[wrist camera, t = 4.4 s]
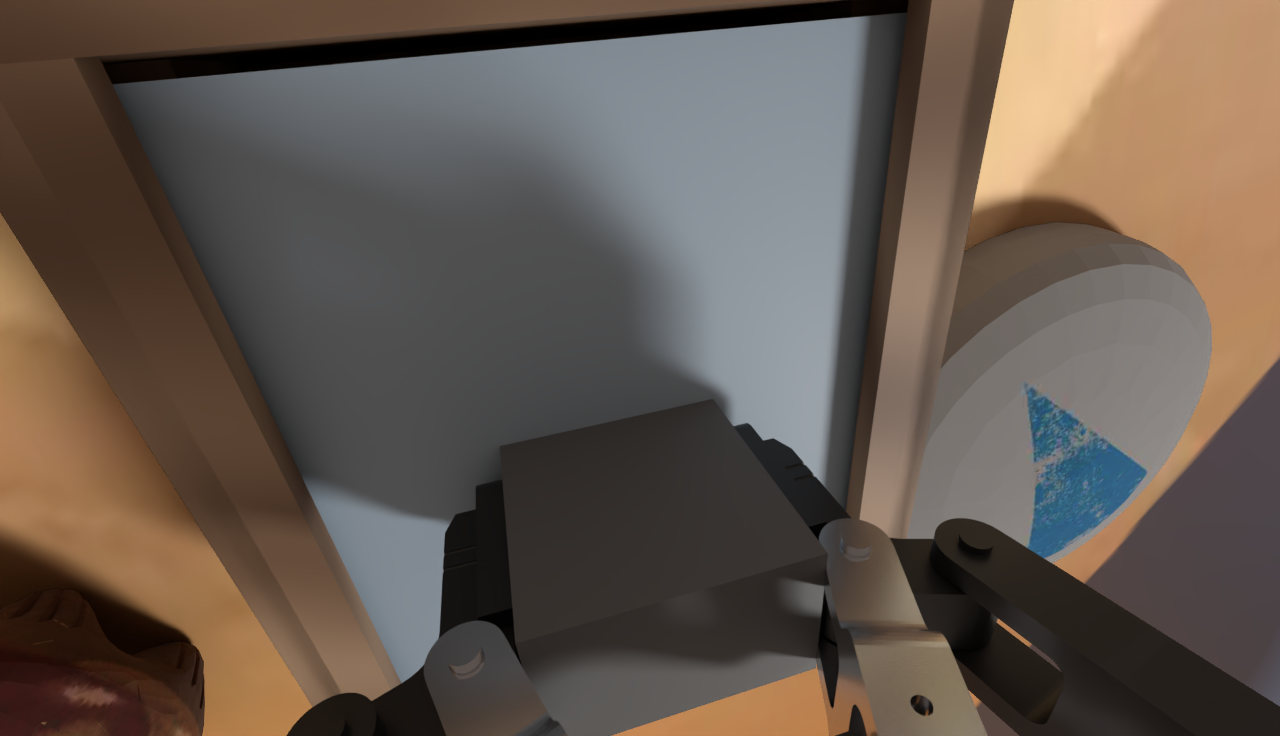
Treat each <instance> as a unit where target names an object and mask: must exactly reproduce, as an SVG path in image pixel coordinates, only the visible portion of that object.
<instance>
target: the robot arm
mask: <svg viewBox="0 0 1280 736" xmlns="http://www.w3.org/2000/svg"><path fill="white" fill-rule="evenodd" d="M733 427H734V428H735V429H736V431H737V432H738V433H739V435H740V436H741V437H742V439H743V440H744V441H745V443H746V444H747V445H748V447H749V448H750V449H751V451H752V452H753V453H754V455H755V456H756V457H757V459H758V460H759V462H760V463H761V464H762V466H763V467H764V468H765V470H766V471H767V472H768V474H769V475H770V476H771V478H772V479H773V480H774V482H775V483H776V484H777V486H778V487H779V488H780V490H781V491H782V492H783V494H784V495H785V496H786V498H787V499H788V500H789V502H790V503H791V504H792V506H793V507H794V508H795V510H796V511H797V512H798V514H799V515H800V516H801V518H802V519H803V521H804V522H805V523H806V525H807V526H808V527H809V529H810V530H811V531H812V533H813V534H814V535H815V537H816V538H817V539H818V541H819V542H820V543H821V545H822V546H823V547H824V549H825V550H826V551H827V553H828V558H827V567H825V576H824V595H823V605H822V614H821V623H820V632H819V642H818V643H817V652H816V662H817V668H818V673H819V678H820V683H821V688H822V693H823V698H824V704H825V709H826V714H827V720H828V729H829V736H987V733H986V731H985V729H984V726H983V724H982V721H981V719H980V717H979V714H978V712H977V710H976V707H975V705H974V703H973V700H972V698H971V695H970V693H969V691H970V692H971V693H973V694H974V695H975V696H976V697H977V698H978V699H979V700H980V701H982V702H983V703H984V704H985V705H986V706H987V707H988V708H989V709H990V710H992V711H993V712H994V713H995V714H996V715H997V716H998V717H1000V718H1001V719H1002V720H1003V721H1004V722H1005V723H1006V724H1007V725H1008V726H1009V727H1011V728H1012V729H1013V730H1014V731H1015V732H1016V733H1017V734H1018V735H1020V736H1280V706H1278V705H1276V704H1275V703H1273V702H1272V701H1270V700H1268V699H1267V698H1265V697H1264V696H1262V695H1260V694H1259V693H1257V692H1256V691H1254V690H1252V689H1251V688H1249V687H1248V686H1246V685H1245V684H1243V683H1241V682H1240V681H1238V680H1237V679H1235V678H1233V677H1232V676H1230V675H1229V674H1227V673H1225V672H1224V671H1222V670H1221V669H1219V668H1218V667H1216V666H1214V665H1213V664H1211V663H1209V662H1208V661H1206V660H1205V659H1203V658H1202V657H1200V656H1198V655H1197V654H1195V653H1194V652H1192V651H1190V650H1189V649H1187V648H1186V647H1184V646H1183V645H1181V644H1179V643H1178V642H1176V641H1175V640H1173V639H1171V638H1170V637H1168V636H1167V635H1165V634H1163V633H1162V632H1160V631H1158V630H1157V629H1156V628H1154V627H1152V626H1151V625H1149V624H1147V623H1146V622H1144V621H1143V620H1141V619H1140V618H1138V617H1136V616H1135V615H1133V614H1132V613H1130V612H1128V611H1127V610H1125V609H1124V608H1122V607H1121V606H1119V605H1117V604H1116V603H1114V602H1113V601H1111V600H1109V599H1108V598H1106V597H1105V596H1103V595H1101V594H1100V593H1098V592H1097V591H1095V590H1093V589H1092V588H1090V587H1089V586H1087V585H1086V584H1084V583H1082V582H1081V581H1079V580H1078V579H1076V578H1074V577H1073V576H1071V575H1070V574H1068V573H1066V572H1065V571H1063V570H1062V569H1060V568H1058V567H1057V566H1055V565H1054V564H1052V563H1051V562H1049V561H1047V560H1046V559H1044V558H1043V557H1041V556H1039V555H1038V554H1036V553H1035V552H1033V551H1031V550H1030V549H1028V548H1027V547H1025V546H1023V545H1022V544H1020V543H1019V542H1017V541H1016V540H1014V539H1012V538H1011V537H1009V536H1008V535H1006V534H1004V533H1003V532H1001V531H1000V530H998V529H996V528H995V527H993V526H991V525H988V524H986V523H984V522H981V521H977V520H973V519H967V518H955V519H949V520H946V521H944V522H942V523H941V524H940V525H939V526H938V527H937V528H936V531H935V534H934V539H898V538H889V537H888V535H887V534H886V533H885V532H884V531H883V530H881V529H880V528H878V527H877V526H875V525H873V524H871V523H869V522H866V521H863V520H859V519H852V518H851V517H850V516H849V515H848V513H847V512H846V511H845V510H844V509H843V508H842V506H841V505H840V504H839V503H838V502H837V501H836V499H835V498H834V497H833V496H832V495H831V494H830V492H829V491H828V490H827V489H826V488H825V487H824V485H823V484H822V483H821V482H820V481H819V480H818V479H817V477H814V475H813V473H812V472H811V470H810V469H809V468H808V467H807V466H806V465H804V462H803V461H802V460H801V459H800V458H799V456H798V455H797V454H796V453H795V452H794V451H793V449H792V448H790V447H788V446H786V445H785V444H783V443H781V442H779V441H778V440H776V439H774V438H772V439H768V440H762V438H761V437H760V436H759V435H758V433H757V432H756V431H755V430H754V428H753V427H752V426H751V425H750V424H749V423H744V424H740V425H736V426H733ZM443 571H444V572H443V578H442V597H441V615H440V632H439V638H438V640H437V641H436V642H435V644H434V645H433V646H432V648H431V649H430V651H429V653H428V655H427V657H426V660H425V664H424V665H423V666H422V667H421V668H420V669H419V670H418V671H417V672H416V673H415V674H414V675H413V676H411V677H410V678H409V679H407V680H406V681H404V682H403V683H401V684H399V685H398V686H396V687H394V688H393V689H391V690H389V691H388V692H386V693H384V694H383V695H381V696H379V697H378V698H376V699H374V700H373V701H371V700H370V699H369V698H367V697H366V696H364V695H362V694H359V693H342V694H338V695H335V696H332V697H330V698H327V699H325V700H323V701H322V702H320V703H318V704H317V705H315V706H314V707H312V708H311V709H310V710H308V711H307V712H306V713H305V714H304V715H303V716H302V717H301V718H300V719H299V720H298V721H297V722H296V723H295V724H294V726H293V727H292V729H291V730H290V731H289V733H288V734H287V736H568V735H567V734H566V732H565V730H564V729H563V727H562V726H561V725H560V723H559V722H558V721H557V720H555V721H553V719H552V718H551V717H550V715H549V713H548V712H547V710H546V708H545V706H544V705H543V703H542V701H541V699H540V698H539V696H538V694H537V692H536V691H535V689H534V687H533V685H532V683H531V682H530V680H529V678H528V676H527V675H526V673H525V671H524V669H523V667H522V664H521V661H520V657H519V654H518V651H517V647H516V644H515V633H514V620H513V608H512V595H511V582H510V570H509V557H508V544H507V532H506V519H505V507H504V494H503V481H502V480H498V481H493V482H489V483H485V484H481V485H477V486H476V509H475V510H471V511H467V512H462V513H458V514H455V516H454V518H453V520H452V521H451V523H450V525H449V527H448V529H447V530H446V532H445V541H444V559H443ZM998 618H999V619H1000V620H1001V621H1003V622H1004V623H1005V624H1007V625H1008V626H1009V627H1011V628H1012V629H1013V630H1014V631H1016V632H1017V633H1018V634H1020V635H1021V636H1022V637H1024V638H1025V639H1026V640H1028V641H1029V642H1030V643H1032V644H1033V645H1034V646H1036V647H1037V648H1038V649H1040V650H1041V651H1042V652H1044V653H1045V654H1046V655H1047V656H1049V657H1050V658H1051V659H1052V660H1053V661H1054V662H1055V663H1056V664H1057V666H1058V667H1059V668H1060V670H1061V672H1060V671H1059V670H1058V669H1056V668H1055V667H1054V666H1053V665H1051V664H1050V663H1049V662H1047V661H1046V660H1045V659H1043V658H1042V657H1041V656H1039V655H1038V654H1037V653H1036V652H1034V651H1033V650H1032V649H1030V648H1029V647H1028V646H1026V645H1025V644H1024V643H1022V642H1021V641H1020V640H1019V639H1017V638H1016V637H1015V636H1013V635H1012V634H1011V633H1009V632H1008V631H1007V630H1005V629H1004V628H1003V627H1002V626H1000V625H999V624H998V623H996V622H997V619H998ZM968 690H969V691H968Z"/></svg>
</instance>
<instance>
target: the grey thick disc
mask: <svg viewBox="0 0 1280 736" xmlns="http://www.w3.org/2000/svg"><path fill="white" fill-rule="evenodd" d="M1211 352H1212V335H1211V323H1210V319H1209V316H1208V312H1207V309H1206V305H1205V303H1204V301H1203V299H1202V298H1201V296H1200V294H1199V292H1198V291H1197V289H1196V287H1195V286H1194V284H1193V283H1192V281H1191V280H1190V278H1189V277H1188V275H1187V274H1186V272H1185V271H1184V269H1183V268H1182V267H1181V266H1180V265H1179V264H1177V263H1176V262H1174V261H1173V260H1172V259H1170V258H1169V257H1168V256H1166V255H1165V254H1164V253H1162V252H1160V251H1159V250H1157V249H1155V248H1153V247H1152V246H1150V245H1148V244H1146V243H1144V242H1142V241H1139V240H1136V239H1133V238H1131V237H1128V236H1125V235H1122V234H1119V233H1116V232H1113V231H1110V230H1107V229H1104V228H1100V227H1096V226H1092V225H1088V224H1080V223H1062V222H1053V223H1046V224H1040V225H1034V226H1028V227H1022V228H1019V229H1016V230H1013V231H1010V232H1007V233H1005V234H1002V235H999V236H996V237H993V238H990V239H988V240H985V241H984V242H982V243H980V244H978V245H976V246H974V247H972V248H970V249H969V250H967V251H965V252H964V254H963V259H962V264H961V269H960V274H959V279H958V284H957V289H956V294H955V299H954V304H953V309H952V314H951V319H950V324H949V329H948V334H947V339H946V344H945V349H944V355H943V360H942V365H941V370H940V375H939V380H938V385H937V390H936V395H935V400H934V405H933V410H932V415H931V420H930V425H929V430H928V435H927V440H926V445H925V450H924V455H923V460H922V465H921V470H920V475H919V480H918V485H917V490H916V495H915V500H914V505H913V510H912V515H911V520H910V525H909V530H908V535H907V539H934V534H935V531H936V528H937V527H938V526H939V525H940V524H941V523H942V522H944V521H946V520H949V519H955V518H967V519H973V520H977V521H981V522H984V523H986V524H988V525H991V526H993V527H995V528H996V529H998V530H1000V531H1001V532H1003V533H1004V534H1006V535H1008V536H1009V537H1011V538H1012V539H1014V540H1016V541H1017V542H1019V543H1020V544H1022V545H1023V546H1025V547H1027V548H1028V549H1030V550H1031V551H1033V552H1035V553H1036V554H1038V555H1039V556H1041V557H1043V558H1044V559H1046V560H1047V561H1049V562H1051V563H1053V562H1055V561H1057V560H1059V559H1061V558H1062V557H1064V556H1066V555H1068V554H1069V553H1071V552H1072V551H1074V550H1075V549H1077V548H1078V547H1080V546H1081V545H1083V544H1084V543H1086V542H1087V541H1089V540H1090V539H1091V538H1092V537H1094V536H1095V535H1096V534H1097V533H1099V532H1100V531H1101V530H1102V529H1104V528H1105V527H1106V526H1107V525H1109V524H1110V523H1111V522H1112V521H1113V520H1114V519H1115V518H1116V517H1118V516H1119V515H1120V514H1121V513H1122V512H1123V511H1124V510H1125V509H1126V508H1127V507H1128V506H1129V505H1130V504H1131V503H1132V502H1133V501H1134V500H1135V499H1136V498H1137V497H1138V496H1139V494H1140V493H1141V492H1142V491H1143V490H1144V489H1145V488H1146V487H1147V486H1148V484H1149V483H1150V482H1151V481H1152V479H1153V478H1154V477H1155V475H1156V474H1157V473H1158V472H1159V470H1160V469H1161V468H1162V466H1163V465H1164V464H1165V462H1166V461H1167V459H1168V458H1169V456H1170V455H1171V453H1172V451H1173V450H1174V448H1175V446H1176V445H1177V443H1178V442H1179V440H1180V438H1181V437H1182V435H1183V433H1184V431H1185V429H1186V427H1187V425H1188V423H1189V421H1190V418H1191V416H1192V414H1193V412H1194V410H1195V408H1196V406H1197V404H1198V402H1199V399H1200V396H1201V393H1202V390H1203V387H1204V384H1205V381H1206V378H1207V375H1208V369H1209V363H1210V357H1211Z"/></svg>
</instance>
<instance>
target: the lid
mask: <svg viewBox="0 0 1280 736" xmlns="http://www.w3.org/2000/svg"><path fill="white" fill-rule="evenodd" d="M906 19H907V13H896V14H885V15H874V16H863V17H852V18H841V19H830V20H819V21H808V22H797V23H786V24H775V25H764V26H752V27H741V28H730V29H719V30H708V31H697V32H686V33H675V34H664V35H653V36H642V37H631V38H620V39H609V40H598V41H587V42H576V43H565V44H554V45H543V46H532V47H521V48H510V49H499V50H488V51H477V52H465V53H454V54H443V55H432V56H421V57H410V58H399V59H388V60H377V61H366V62H355V63H344V64H333V65H322V66H311V67H300V68H289V69H278V70H267V71H256V72H245V73H234V74H223V75H212V76H201V77H189V78H178V79H167V80H156V81H145V82H134V83H123V84H112V85H113V87H114V89H115V91H116V93H117V95H118V97H119V100H120V102H121V104H122V106H123V108H124V110H125V112H126V114H127V116H128V118H129V120H130V122H131V124H132V126H133V128H134V131H135V133H136V135H137V137H138V139H139V141H140V143H141V145H142V147H143V149H144V151H145V153H146V155H147V157H148V160H149V162H150V164H151V166H152V168H153V170H154V172H155V174H156V176H157V178H158V180H159V182H160V184H161V186H162V189H163V191H164V193H165V195H166V197H167V199H168V201H169V203H170V205H171V207H172V209H173V211H174V213H175V215H176V217H177V220H178V222H179V224H180V226H181V228H182V230H183V232H184V234H185V236H186V238H187V240H188V242H189V244H190V246H191V249H192V251H193V253H194V255H195V257H196V259H197V261H198V263H199V265H200V267H201V269H202V271H203V273H204V275H205V278H206V280H207V282H208V284H209V286H210V288H211V290H212V292H213V294H214V296H215V298H216V300H217V302H218V304H219V306H220V309H221V311H222V313H223V315H224V317H225V319H226V321H227V323H228V325H229V327H230V329H231V331H232V333H233V335H234V338H235V340H236V342H237V344H238V346H239V348H240V350H241V352H242V354H243V356H244V358H245V360H246V362H247V364H248V366H249V369H250V371H251V373H252V375H253V377H254V379H255V381H256V383H257V385H258V387H259V389H260V391H261V393H262V395H263V398H264V400H265V402H266V404H267V406H268V408H269V410H270V412H271V414H272V416H273V418H274V420H275V422H276V424H277V427H278V429H279V431H280V433H281V435H282V437H283V439H284V441H285V443H286V445H287V447H288V449H289V451H290V453H291V455H292V458H293V460H294V462H295V464H296V466H297V468H298V470H299V472H300V474H301V476H302V478H303V480H304V482H305V484H306V487H307V489H308V491H309V493H310V495H311V497H312V499H313V501H314V503H315V505H316V507H317V509H318V511H319V513H320V516H321V518H322V520H323V522H324V524H325V526H326V528H327V530H328V532H329V534H330V536H331V538H332V540H333V542H334V544H335V547H336V549H337V551H338V553H339V555H340V557H341V559H342V561H343V563H344V565H345V567H346V569H347V571H348V573H349V576H350V578H351V580H352V582H353V584H354V586H355V588H356V590H357V592H358V594H359V596H360V598H361V600H362V602H363V605H364V607H365V609H366V611H367V613H368V615H369V617H370V619H371V621H372V623H373V625H374V627H375V629H376V631H377V633H378V636H379V638H380V640H381V642H382V644H383V646H384V648H385V650H386V652H387V654H388V656H389V658H390V660H391V662H392V665H393V667H394V669H395V671H396V673H397V675H398V677H399V679H400V681H401V683H403V682H404V681H406V680H407V679H409V678H410V677H411V676H413V675H414V674H415V673H416V672H417V671H418V670H419V669H420V668H421V667H422V666H423V665H424V664H425V660H426V657H427V655H428V653H429V651H430V649H431V648H432V646H433V645H434V644H435V642H436V641H437V640H438V638H439V632H440V615H441V597H442V578H443V572H444V571H443V559H444V541H445V532H446V530H447V529H448V527H449V525H450V523H451V521H452V520H453V518H454V516H455V514H458V513H462V512H467V511H471V510H475V509H476V486H477V485H481V484H485V483H489V482H493V481H498V480H502V481H503V494H504V507H505V519H506V532H507V544H508V557H509V570H510V582H511V595H512V608H513V620H514V633H515V644H516V647H517V651H518V654H519V657H520V661H521V664H522V667H523V669H524V671H525V673H526V675H527V676H528V678H529V680H530V682H531V683H532V685H533V687H534V689H535V691H536V692H537V694H538V696H539V698H540V699H541V701H542V703H543V705H544V706H545V708H546V710H547V712H548V713H549V715H550V717H551V718H552V719H553V721H555V720H557V721H558V722H559V723H560V725H561V726H562V727H563V729H564V730H565V732H566V734H567V735H568V736H611V735H614V734H617V733H620V732H623V731H626V730H629V729H632V728H635V727H638V726H641V725H644V724H647V723H650V722H653V721H657V720H660V719H663V718H666V717H669V716H672V715H675V714H678V713H681V712H684V711H687V710H690V709H693V708H696V707H699V706H702V705H705V704H708V703H711V702H714V701H717V700H720V699H723V698H726V697H729V696H732V695H735V694H738V693H741V692H745V691H748V690H751V689H754V688H757V687H760V686H763V685H766V684H769V683H772V682H775V681H778V680H781V679H784V678H787V677H790V676H793V675H796V674H799V673H802V672H805V671H808V670H811V669H814V668H816V652H817V643H818V642H819V632H820V623H821V614H822V605H823V595H824V576H825V567H827V558H828V553H827V551H826V550H825V549H824V547H823V546H822V545H821V543H820V542H819V541H818V539H817V538H816V537H815V535H814V534H813V533H812V531H811V530H810V529H809V527H808V526H807V525H806V523H805V522H804V521H803V519H802V518H801V516H800V515H799V514H798V512H797V511H796V510H795V508H794V507H793V506H792V504H791V503H790V502H789V500H788V499H787V498H786V496H785V495H784V494H783V492H782V491H781V490H780V488H779V487H778V486H777V484H776V483H775V482H774V480H773V479H772V478H771V476H770V475H769V474H768V472H767V471H766V470H765V468H764V467H763V466H762V464H761V463H760V462H759V460H758V459H757V457H756V456H755V455H754V453H753V452H752V451H751V449H750V448H749V447H748V445H747V444H746V443H745V441H744V440H743V439H742V437H741V436H740V435H739V433H738V432H737V431H736V429H735V428H734V427H733V426H736V425H740V424H744V423H749V424H750V425H751V426H752V427H753V428H754V430H755V431H756V432H757V433H758V435H759V436H760V437H761V438H762V440H768V439H772V438H774V439H776V440H778V441H779V442H781V443H783V444H785V445H786V446H788V447H790V448H792V449H793V451H794V452H795V453H796V454H797V455H798V456H799V458H800V459H801V460H802V461H803V462H804V465H806V466H807V467H808V468H809V469H810V470H811V472H812V473H813V475H814V477H817V479H818V480H819V481H820V482H821V483H822V484H823V485H824V487H825V488H826V489H827V490H828V491H829V492H830V494H831V495H832V496H833V497H834V498H835V499H836V501H837V502H838V503H839V504H840V505H841V506H842V508H843V509H844V510H845V511H846V507H847V499H848V491H849V483H850V474H851V466H852V458H853V450H854V442H855V434H856V426H857V417H858V409H859V401H860V393H861V385H862V377H863V369H864V361H865V352H866V344H867V336H868V328H869V320H870V312H871V304H872V295H873V287H874V279H875V271H876V263H877V255H878V247H879V239H880V230H881V222H882V214H883V206H884V198H885V190H886V182H887V173H888V165H889V157H890V149H891V141H892V133H893V125H894V117H895V108H896V100H897V92H898V84H899V76H900V68H901V60H902V51H903V43H904V35H905V27H906Z"/></svg>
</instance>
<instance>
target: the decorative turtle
mask: <svg viewBox="0 0 1280 736" xmlns="http://www.w3.org/2000/svg"><path fill="white" fill-rule="evenodd" d="M203 669H204V661H203V659H202V657H201V654H200V652H199V650H198V649H197V648H196V647H195V646H193V645H191V644H188V643H186V642H169V643H165V644H162V645H159V646H156V647H153V648H150V649H147V650H144V651H142V652H139V653H136V654H133V655H128V654H126V653H124V652H122V651H120V650H119V649H118V648H116V647H115V646H114V645H113V644H112V643H111V642H110V641H109V640H108V639H107V638H106V636H105V635H104V633H103V631H102V629H101V627H100V625H99V623H98V621H97V618H96V615H95V613H94V611H93V609H92V608H91V606H90V605H89V603H88V602H87V601H85V600H83V599H82V597H81V595H80V593H78V592H76V591H75V590H71V589H52V590H47V591H42V592H35V593H33V594H31V595H29V596H27V597H25V598H23V599H21V600H19V601H17V602H14V603H12V604H10V605H8V606H6V607H4V608H2V609H0V736H202V733H203V727H204V708H205V697H204V673H203Z"/></svg>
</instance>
